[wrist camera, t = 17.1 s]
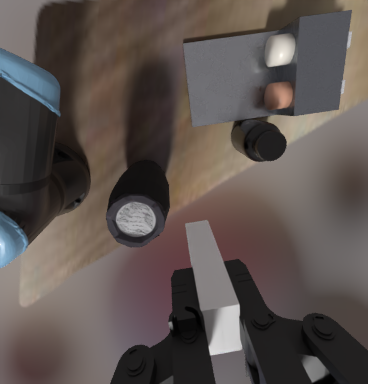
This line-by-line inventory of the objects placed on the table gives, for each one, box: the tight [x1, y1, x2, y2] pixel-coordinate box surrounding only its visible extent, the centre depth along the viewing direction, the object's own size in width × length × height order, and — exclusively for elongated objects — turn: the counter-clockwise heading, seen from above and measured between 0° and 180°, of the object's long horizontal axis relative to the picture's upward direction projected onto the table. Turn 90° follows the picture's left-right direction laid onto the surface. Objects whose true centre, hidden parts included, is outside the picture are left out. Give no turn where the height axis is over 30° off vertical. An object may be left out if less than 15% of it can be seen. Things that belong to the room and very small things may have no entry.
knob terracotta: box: [264, 80, 345, 110], centre depth 39 cm, size 13×4×4 cm, turn 98°
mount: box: [183, 10, 352, 127], centre depth 38 cm, size 25×14×7 cm, turn 98°
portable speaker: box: [106, 160, 170, 247], centre depth 37 cm, size 9×9×20 cm
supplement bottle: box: [231, 119, 287, 162], centre depth 39 cm, size 7×7×12 cm
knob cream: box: [265, 32, 352, 67], centre depth 36 cm, size 13×4×4 cm, turn 98°
